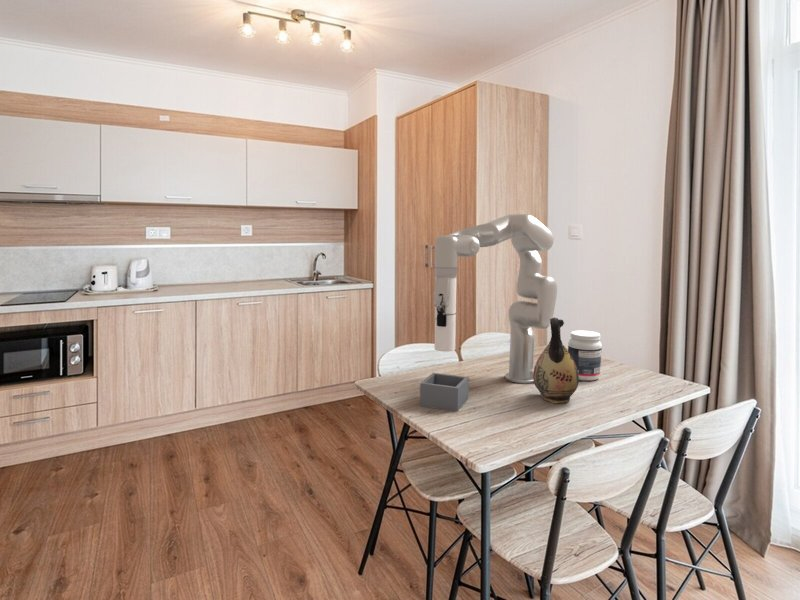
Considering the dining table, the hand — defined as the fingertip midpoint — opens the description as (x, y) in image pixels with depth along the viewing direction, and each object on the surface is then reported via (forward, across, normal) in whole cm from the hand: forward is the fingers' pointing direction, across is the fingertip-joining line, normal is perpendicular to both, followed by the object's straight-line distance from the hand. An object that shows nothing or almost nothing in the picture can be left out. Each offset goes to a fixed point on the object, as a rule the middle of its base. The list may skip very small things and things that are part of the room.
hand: (445, 323), depth 168 cm
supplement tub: (+28, -51, +43) cm, 72 cm away
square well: (+28, +1, 0) cm, 28 cm away
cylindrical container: (+9, 0, 0) cm, 9 cm away
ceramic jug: (+28, -18, +35) cm, 48 cm away
